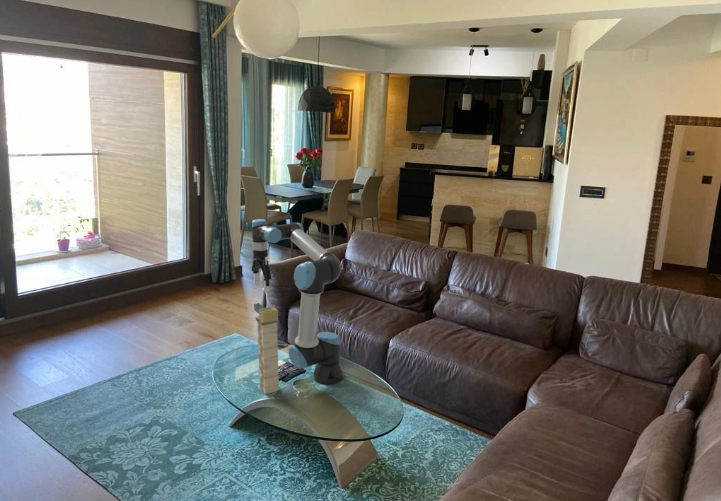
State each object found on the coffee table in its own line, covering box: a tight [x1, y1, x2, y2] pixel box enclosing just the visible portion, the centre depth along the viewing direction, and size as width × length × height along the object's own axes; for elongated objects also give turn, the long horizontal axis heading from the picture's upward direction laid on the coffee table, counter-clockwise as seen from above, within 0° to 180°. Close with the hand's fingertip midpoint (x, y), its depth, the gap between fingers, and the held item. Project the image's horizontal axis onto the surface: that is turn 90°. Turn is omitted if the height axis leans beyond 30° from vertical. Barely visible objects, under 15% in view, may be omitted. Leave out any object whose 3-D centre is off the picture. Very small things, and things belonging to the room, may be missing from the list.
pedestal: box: [255, 315, 280, 395], centre depth 258 cm, size 8×8×36 cm
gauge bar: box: [253, 303, 279, 323], centre depth 257 cm, size 18×7×5 cm, turn 32°
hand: (261, 288), depth 288 cm, fingers open, 13 cm apart
